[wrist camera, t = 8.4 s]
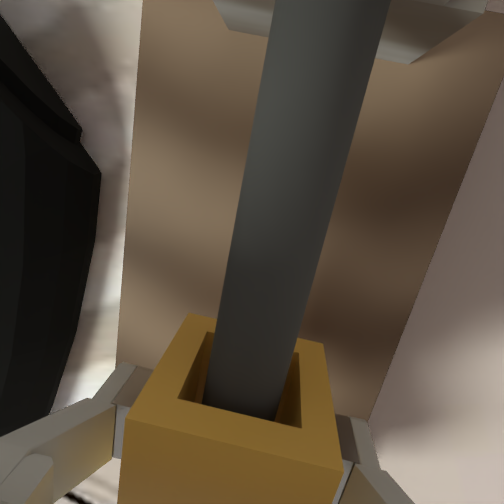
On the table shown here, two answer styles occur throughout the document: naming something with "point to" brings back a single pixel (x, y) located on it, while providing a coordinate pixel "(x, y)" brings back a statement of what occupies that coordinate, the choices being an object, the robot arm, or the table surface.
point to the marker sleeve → (229, 434)
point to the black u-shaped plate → (39, 235)
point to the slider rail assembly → (350, 190)
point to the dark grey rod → (289, 192)
